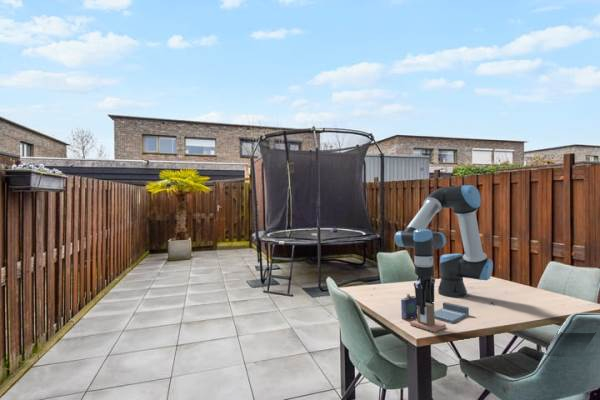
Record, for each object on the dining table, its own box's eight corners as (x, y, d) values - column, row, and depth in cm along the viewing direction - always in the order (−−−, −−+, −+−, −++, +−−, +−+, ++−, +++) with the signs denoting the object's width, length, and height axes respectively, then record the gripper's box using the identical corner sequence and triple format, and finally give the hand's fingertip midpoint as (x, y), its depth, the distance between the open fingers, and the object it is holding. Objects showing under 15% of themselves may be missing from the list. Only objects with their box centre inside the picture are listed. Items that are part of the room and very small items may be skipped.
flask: (404, 320, 137) (403, 296, 138) (399, 318, 140) (398, 294, 140) (419, 316, 141) (418, 293, 142) (414, 314, 144) (413, 291, 145)
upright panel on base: (410, 324, 131) (409, 302, 131) (421, 319, 136) (420, 298, 137) (434, 332, 122) (433, 308, 122) (445, 326, 128) (444, 303, 128)
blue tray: (428, 317, 140) (428, 309, 140) (445, 309, 150) (445, 302, 150) (452, 323, 132) (452, 315, 132) (468, 315, 142) (468, 307, 142)
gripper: (422, 269, 121) (424, 328, 121) (441, 264, 131) (444, 318, 131) (405, 266, 127) (407, 323, 127) (425, 262, 137) (427, 314, 137)
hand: (426, 320), depth 129 cm, fingers closed on upright panel on base, 3 cm apart
